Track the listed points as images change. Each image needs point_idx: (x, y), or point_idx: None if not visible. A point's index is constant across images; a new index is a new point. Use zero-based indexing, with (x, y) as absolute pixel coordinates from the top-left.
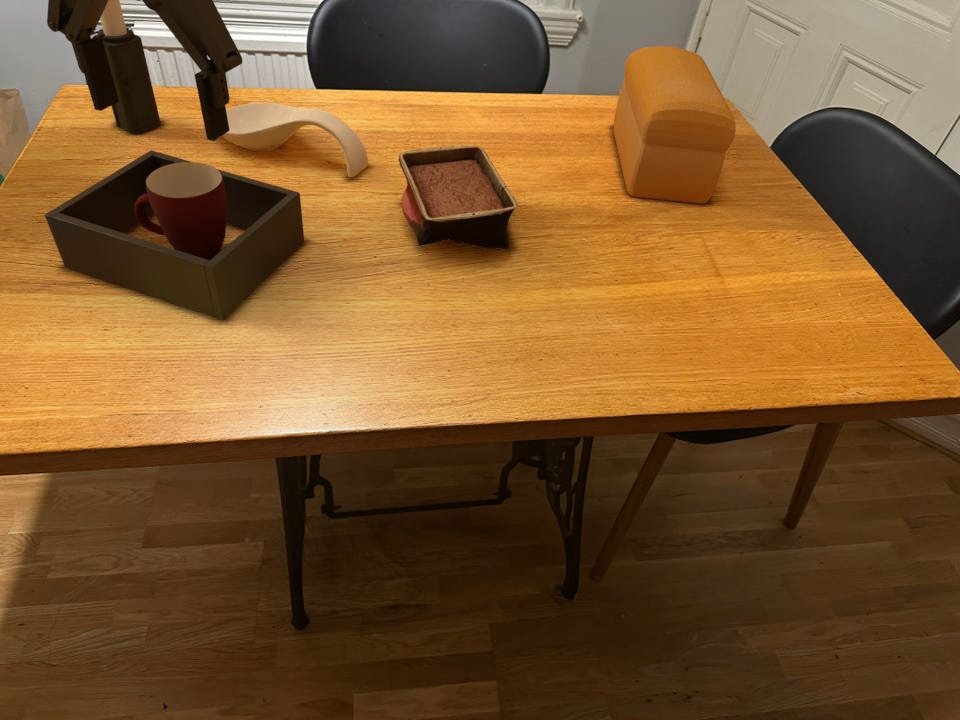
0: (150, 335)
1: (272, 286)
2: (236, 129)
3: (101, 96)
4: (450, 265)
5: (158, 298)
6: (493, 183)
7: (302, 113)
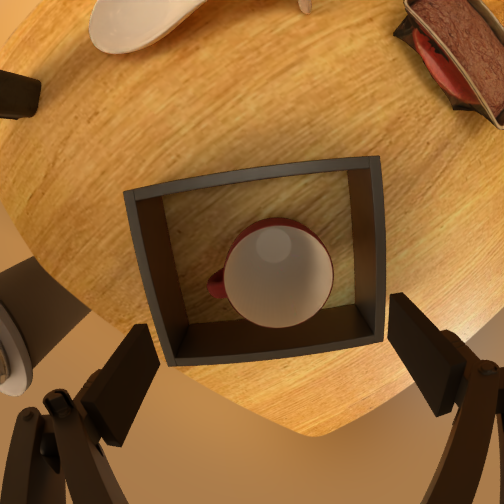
0: (321, 354)
1: None
2: (115, 26)
3: (151, 369)
4: (480, 123)
5: None
6: (493, 28)
7: None
